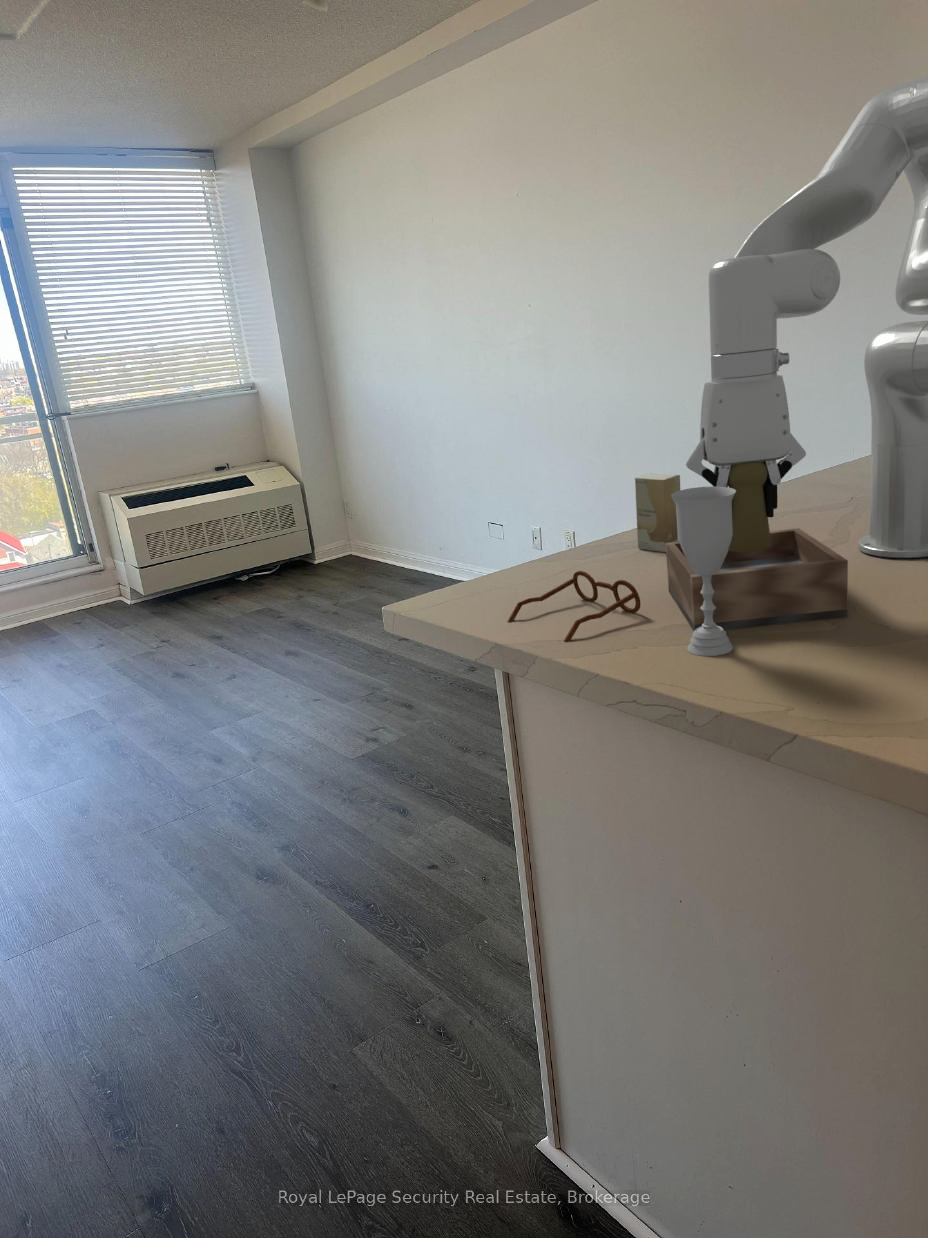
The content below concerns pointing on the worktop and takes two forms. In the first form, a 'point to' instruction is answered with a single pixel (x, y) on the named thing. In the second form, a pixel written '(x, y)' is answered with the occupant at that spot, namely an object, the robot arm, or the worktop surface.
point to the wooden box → (765, 584)
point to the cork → (749, 507)
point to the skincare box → (656, 510)
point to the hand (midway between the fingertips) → (746, 515)
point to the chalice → (706, 553)
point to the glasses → (588, 599)
